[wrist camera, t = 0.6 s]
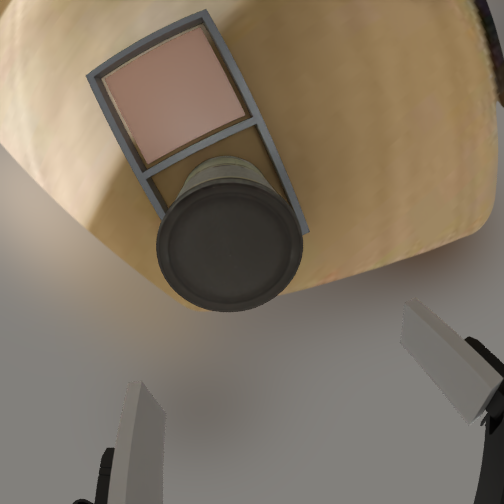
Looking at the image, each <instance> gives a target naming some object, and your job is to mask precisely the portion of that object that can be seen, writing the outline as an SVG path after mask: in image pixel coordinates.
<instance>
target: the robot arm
mask: <svg viewBox="0 0 504 504" xmlns="http://www.w3.org/2000/svg"><path fill="white" fill-rule="evenodd" d="M402 324H403V325H402V333H401V340H400V343H401V344H402V345H403V347H404V348H405V349H406V350H407V351H408V352H409V353H410V355H411V356H412V357H413V358H414V359H415V360H416V362H417V363H418V364H419V365H420V366H421V367H422V369H423V370H424V371H425V372H426V373H427V374H428V376H429V377H430V378H431V379H432V380H433V382H434V383H435V384H436V385H437V387H438V388H439V389H440V390H441V391H442V393H443V394H444V395H445V396H446V398H447V399H448V400H449V401H450V403H451V404H452V405H453V406H454V408H455V409H456V410H457V411H458V413H459V414H460V415H461V416H462V418H463V419H464V420H465V422H466V423H467V424H468V426H469V425H471V424H472V423H473V422H474V421H476V420H477V419H478V418H479V417H480V416H481V414H482V413H483V412H484V410H486V411H487V412H488V413H487V414H486V416H485V417H484V419H483V420H482V422H481V425H480V426H482V425H483V424H484V423H485V421H486V424H485V426H486V430H485V442H484V451H483V460H482V467H481V472H480V478H479V483H478V488H477V492H476V496H475V501H474V504H504V364H503V363H502V362H501V361H500V360H499V359H498V358H497V357H496V356H495V355H493V354H492V353H491V352H490V351H489V350H488V349H487V348H485V346H484V345H483V344H482V343H481V342H479V341H478V340H476V339H474V338H472V337H467V338H466V339H465V340H464V339H462V338H461V337H460V336H459V335H458V334H457V333H456V332H455V331H454V330H453V329H451V328H450V327H449V326H448V325H447V324H446V323H445V322H443V321H442V320H441V319H440V318H439V317H438V316H437V315H436V314H434V313H433V312H432V311H431V310H430V309H429V308H428V307H426V306H425V305H424V304H423V303H422V302H420V301H419V300H418V299H417V298H414V299H412V300H410V301H407V302H405V303H404V313H403V323H402ZM165 421H166V413H165V411H164V410H163V409H162V407H161V406H160V405H159V403H158V402H157V401H156V400H155V398H154V397H153V395H152V394H151V393H150V391H149V390H148V389H147V387H146V386H145V384H144V383H143V382H142V381H136V382H129V383H128V387H127V391H126V395H125V400H124V404H123V409H122V413H121V419H120V423H119V428H118V434H117V440H116V445H115V448H107V449H106V451H105V452H104V454H103V456H102V459H101V464H100V467H101V468H100V470H99V477H98V483H97V489H96V497H95V503H94V504H163V459H164V438H165V437H164V436H165ZM73 504H93V503H91V502H90V501H88V500H85V499H79V500H76V501H75V502H74V503H73Z"/></svg>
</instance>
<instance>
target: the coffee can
mask: <svg viewBox="0 0 504 504" xmlns="http://www.w3.org/2000/svg"><path fill="white" fill-rule="evenodd" d="M156 251H157V258H158V263H159V266H160V269H161V272H162V273H163V275H164V278H165V279H166V281H167V282H168V283H169V285H170V286H171V287H172V288H173V289H174V290H175V291H176V292H177V293H178V294H179V295H180V296H181V297H183V298H184V299H186V300H187V301H189V302H190V303H192V304H194V305H196V306H198V307H201V308H204V309H207V310H212V311H219V312H238V311H245V310H249V309H252V308H256V307H258V306H260V305H263V304H264V303H266V302H268V301H270V300H271V299H273V298H274V297H276V296H277V295H278V294H279V293H280V292H282V291H283V290H284V289H285V288H286V287H287V285H288V284H289V283H290V282H291V280H292V279H293V277H294V276H295V274H296V272H297V269H298V267H299V265H300V262H301V258H302V252H303V237H302V231H301V227H300V224H299V221H298V219H297V217H296V215H295V213H294V211H293V210H292V208H291V207H290V206H289V205H288V203H287V202H286V201H285V200H284V199H283V198H282V197H281V196H280V195H279V194H277V192H276V191H275V190H274V189H273V188H272V186H271V185H270V184H269V183H268V181H267V180H266V179H265V178H264V176H263V174H262V173H261V172H260V171H259V169H258V168H256V167H255V166H254V165H253V164H251V163H250V162H248V161H246V160H244V159H241V158H238V157H234V156H219V157H215V158H211V159H209V160H206V161H204V162H203V163H201V164H200V165H198V166H197V167H195V169H194V170H193V171H192V172H191V173H190V174H189V176H188V177H187V179H186V181H185V183H184V186H183V188H182V189H181V191H180V193H179V195H178V196H177V198H176V200H175V201H174V203H173V204H172V205H171V206H170V208H169V209H168V211H167V212H166V214H165V216H164V218H163V219H162V222H161V224H160V226H159V230H158V234H157V242H156Z"/></svg>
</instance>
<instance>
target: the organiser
mask: <svg viewBox="0 0 504 504" xmlns="http://www.w3.org/2000/svg"><path fill="white" fill-rule="evenodd" d="M202 23H203V24H204V26H205V27H206V29H207V31H208V33H209V35H210V36H211V38H212V40H213V42H214V44H215V46H216V48H217V49H218V51H219V53H220V55H221V57H222V59H223V61H224V63H225V65H226V67H227V69H228V71H229V73H230V75H231V77H232V79H233V80H234V82H235V84H236V87H237V89H238V91H239V93H240V95H241V97H242V99H243V101H244V103H245V105H246V107H247V109H248V111H249V113H250V115H251V118H249V119H247V120H244V121H242V122H240V123H237V124H235V125H233V126H231V127H228V128H226V129H224V130H222V131H220V132H218V133H216V134H213V135H211V136H209V137H207V138H205V139H203V140H201V141H199V142H197V143H195V144H193V145H191V146H189V147H187V148H186V149H184V150H182V151H180V152H178V153H176V154H174V155H172V156H171V157H169V158H167V159H165V160H163V161H162V162H160V163H158V164H156V165H155V166H153V167H151V168H149V169H148V170H147V169H146V167H145V165H144V164H143V162H142V160H141V158H140V156H139V154H138V152H137V151H136V149H135V147H134V145H133V143H132V141H131V139H130V137H129V135H128V133H127V131H126V129H125V127H124V125H123V123H122V121H121V119H120V117H119V115H118V113H117V111H116V109H115V107H114V105H113V103H112V101H111V99H110V97H109V95H108V93H107V91H106V89H105V87H104V85H103V82H102V80H101V78H102V77H104V76H105V75H107V74H108V73H110V72H111V71H113V70H114V69H116V68H117V67H119V66H120V65H122V64H124V63H125V62H127V61H128V60H130V59H132V58H133V57H135V56H137V55H138V54H140V53H142V52H144V51H146V50H147V49H149V48H151V47H153V46H155V45H157V44H158V43H160V42H162V41H164V40H166V39H168V38H170V37H172V36H174V35H177V34H179V33H181V32H183V31H185V30H187V29H190V28H192V27H194V26H197V25H199V24H202ZM86 77H87V80H88V82H89V84H90V86H91V88H92V91H93V93H94V95H95V97H96V99H97V101H98V103H99V105H100V108H101V110H102V112H103V114H104V116H105V118H106V120H107V122H108V124H109V126H110V128H111V130H112V132H113V134H114V136H115V138H116V140H117V142H118V143H119V145H120V147H121V149H122V151H123V153H124V155H125V157H126V159H127V161H128V162H129V164H130V166H131V168H132V170H133V172H134V173H135V175H136V177H137V179H138V181H139V182H140V184H141V186H142V188H143V190H144V191H145V193H146V195H147V197H148V198H149V200H150V202H151V204H152V205H153V207H154V209H155V211H156V212H157V214H158V216H159V217H160V219H161V221H162V219H163V218H164V216H165V214H166V212H167V211H168V207H167V205H166V203H165V202H164V200H163V198H162V196H161V195H160V193H159V191H158V189H157V187H156V186H155V184H154V182H153V180H152V178H151V176H153V175H154V174H156V173H158V172H160V171H161V170H163V169H165V168H167V167H169V166H170V165H172V164H174V163H176V162H178V161H180V160H181V159H183V158H185V157H187V156H189V155H191V154H193V153H195V152H197V151H199V150H201V149H203V148H205V147H207V146H209V145H211V144H213V143H215V142H217V141H219V140H221V139H224V138H226V137H228V136H230V135H232V134H234V133H237V132H239V131H241V130H243V129H246V128H248V127H250V126H253V125H255V126H256V128H257V130H258V133H259V135H260V137H261V139H262V141H263V144H264V146H265V148H266V150H267V152H268V155H269V157H270V159H271V161H272V164H273V166H274V168H275V171H276V173H277V175H278V178H279V180H280V182H281V185H282V187H283V189H284V192H285V194H286V196H287V199H288V201H289V204H290V206H291V208H292V210H293V211H294V213H295V215H296V217H297V219H298V221H299V224H300V227H301V231H302V235H304V234H306V233H308V232H310V231H309V228H308V225H307V223H306V220H305V217H304V215H303V212H302V210H301V207H300V205H299V202H298V200H297V197H296V195H295V192H294V190H293V187H292V185H291V182H290V180H289V177H288V175H287V173H286V170H285V168H284V165H283V163H282V161H281V158H280V156H279V154H278V151H277V149H276V147H275V145H274V142H273V140H272V138H271V136H270V133H269V131H268V129H267V127H266V125H265V122H264V120H263V118H262V116H261V114H260V112H259V109H258V107H257V105H256V103H255V101H254V99H253V97H252V95H251V93H250V91H249V89H248V86H247V84H246V82H245V80H244V78H243V76H242V74H241V72H240V70H239V68H238V66H237V65H236V63H235V61H234V59H233V57H232V55H231V53H230V51H229V49H228V47H227V45H226V44H225V42H224V40H223V38H222V36H221V34H220V33H219V31H218V29H217V27H216V25H215V24H214V22H213V20H212V18H211V16H210V15H209V13H208V11H207V10H206V9H205V10H202V11H200V12H197V13H195V14H192V15H190V16H188V17H185V18H183V19H181V20H179V21H176V22H174V23H172V24H170V25H168V26H166V27H164V28H162V29H160V30H158V31H156V32H154V33H152V34H150V35H148V36H147V37H145V38H143V39H141V40H139V41H138V42H136V43H134V44H132V45H131V46H129V47H127V48H126V49H124V50H122V51H121V52H119V53H118V54H116V55H115V56H113V57H111V58H110V59H108V60H107V61H105V62H104V63H102V64H101V65H100V66H98V67H97V68H95V69H94V70H93V71H91V72H90V73H88V74H87V75H86ZM105 81H106V83H107V85H108V87H109V89H110V91H111V93H112V95H113V97H114V100H115V102H116V104H117V106H118V108H119V110H120V112H121V114H122V116H123V118H124V120H125V122H126V124H127V126H128V128H129V129H130V131H131V133H132V135H133V137H134V139H135V141H136V143H137V145H138V147H139V149H140V151H141V153H142V154H143V156H144V158H145V160H146V162H147V164H150V163H151V162H153V161H155V160H156V159H158V158H160V157H162V156H164V155H165V154H167V153H169V152H171V151H173V150H174V149H176V148H178V147H180V146H182V145H184V144H186V143H188V142H190V141H192V140H193V139H195V138H197V137H199V136H201V135H203V134H206V133H208V132H210V131H212V130H214V129H216V128H218V127H220V126H222V125H224V124H227V123H229V122H231V121H233V120H236V119H238V118H240V117H242V116H245V113H244V111H243V109H242V107H241V105H240V102H239V100H238V98H237V96H236V94H235V92H234V90H233V88H232V86H231V84H230V82H229V80H228V78H227V76H226V74H225V72H224V70H223V68H222V67H221V65H220V63H219V61H218V59H217V57H216V55H215V53H214V51H213V49H212V47H211V46H210V44H209V42H208V40H207V38H206V36H205V34H204V33H203V31H202V29H201V27H199V28H197V29H194V30H192V31H190V32H188V33H185V34H183V35H181V36H179V37H177V38H175V39H173V40H170V41H168V42H166V43H164V44H163V45H161V46H159V47H157V48H155V49H153V50H151V51H149V52H148V53H146V54H144V55H142V56H140V57H139V58H137V59H135V60H134V61H132V62H130V63H129V64H127V65H125V66H124V67H122V68H121V69H119V70H118V71H116V72H114V73H113V74H111V75H110V76H108V77H107V78H106V79H105Z"/></svg>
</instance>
